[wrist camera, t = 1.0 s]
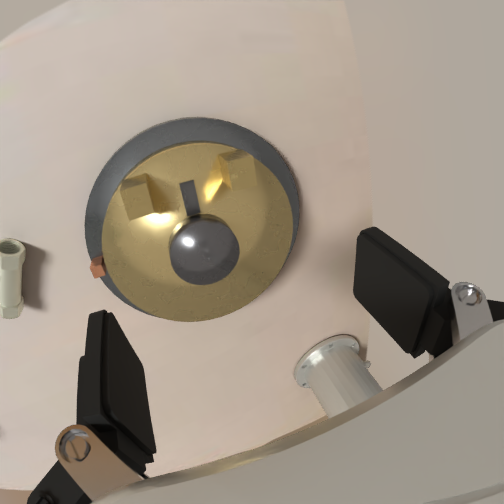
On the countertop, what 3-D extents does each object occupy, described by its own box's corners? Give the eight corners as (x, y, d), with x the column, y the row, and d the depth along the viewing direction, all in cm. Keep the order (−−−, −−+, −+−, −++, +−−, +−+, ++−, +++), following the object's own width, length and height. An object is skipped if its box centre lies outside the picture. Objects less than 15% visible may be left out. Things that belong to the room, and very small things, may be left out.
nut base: (323, 158, 32) (339, 165, 29) (251, 320, 40) (260, 337, 37) (118, 90, 22) (114, 89, 19) (77, 297, 30) (73, 315, 27)
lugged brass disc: (288, 279, 36) (309, 307, 32) (140, 325, 33) (143, 360, 28) (272, 123, 27) (299, 130, 22) (79, 173, 23) (64, 191, 18)
